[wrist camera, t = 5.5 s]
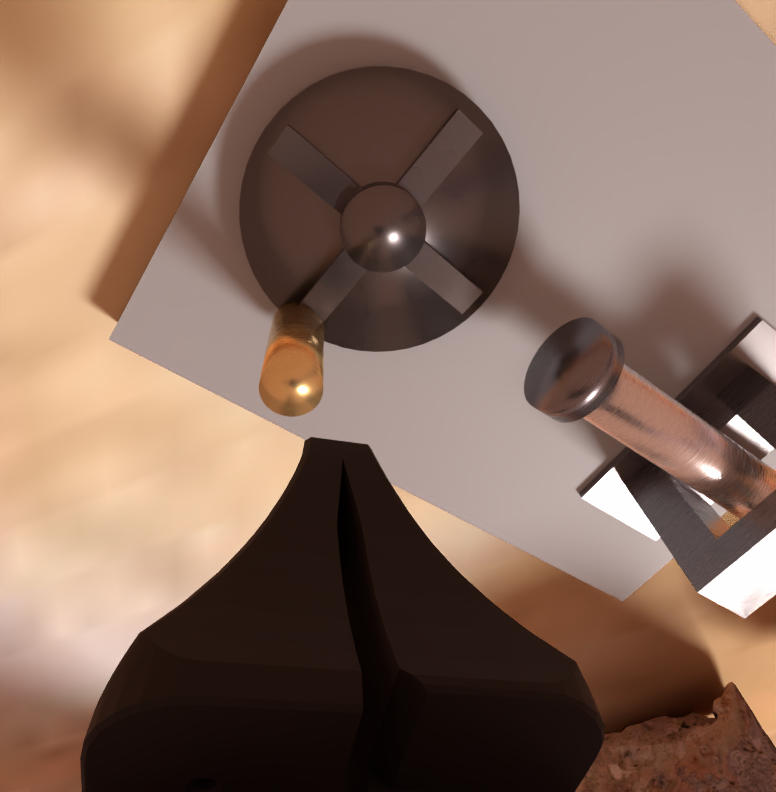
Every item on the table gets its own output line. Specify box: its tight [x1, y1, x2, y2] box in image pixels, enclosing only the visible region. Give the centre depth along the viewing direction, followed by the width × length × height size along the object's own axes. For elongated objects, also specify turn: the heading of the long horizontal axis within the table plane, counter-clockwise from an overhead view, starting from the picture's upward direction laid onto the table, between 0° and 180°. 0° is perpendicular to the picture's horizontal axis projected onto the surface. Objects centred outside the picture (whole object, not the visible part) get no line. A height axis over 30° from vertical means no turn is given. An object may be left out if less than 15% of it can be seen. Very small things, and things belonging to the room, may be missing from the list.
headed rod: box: [524, 317, 776, 519], centre depth 20 cm, size 3×14×3 cm, turn 55°
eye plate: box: [579, 317, 776, 618], centre depth 21 cm, size 9×4×6 cm, turn 145°
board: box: [109, 0, 776, 601], centre depth 21 cm, size 18×24×1 cm
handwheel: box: [239, 66, 520, 417], centre depth 16 cm, size 8×9×5 cm
